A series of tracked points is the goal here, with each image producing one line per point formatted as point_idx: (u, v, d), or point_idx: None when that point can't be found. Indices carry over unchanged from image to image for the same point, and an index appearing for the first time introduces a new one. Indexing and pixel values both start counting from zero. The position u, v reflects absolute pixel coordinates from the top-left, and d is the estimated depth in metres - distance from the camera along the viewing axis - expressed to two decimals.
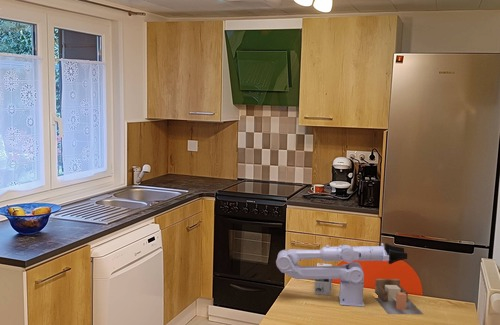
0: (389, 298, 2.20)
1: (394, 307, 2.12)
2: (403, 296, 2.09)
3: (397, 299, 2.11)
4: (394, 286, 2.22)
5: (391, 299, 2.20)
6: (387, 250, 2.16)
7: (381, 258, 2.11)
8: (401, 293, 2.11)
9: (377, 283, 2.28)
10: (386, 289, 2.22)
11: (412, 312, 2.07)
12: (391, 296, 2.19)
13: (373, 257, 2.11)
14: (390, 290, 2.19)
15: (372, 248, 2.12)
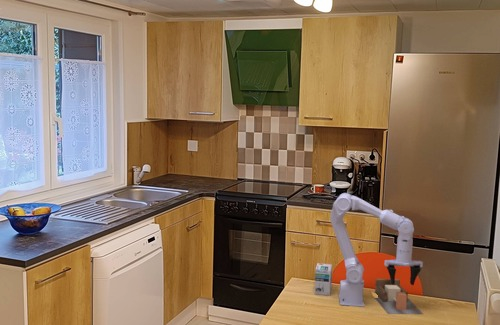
0: (389, 298, 2.20)
1: (394, 307, 2.12)
2: (403, 296, 2.09)
3: (397, 299, 2.11)
4: (394, 286, 2.22)
5: (391, 299, 2.20)
6: (412, 268, 2.10)
7: (396, 259, 2.11)
8: (401, 293, 2.11)
9: (377, 283, 2.28)
10: (386, 289, 2.22)
11: (412, 312, 2.07)
12: (391, 296, 2.19)
13: None
14: (390, 290, 2.19)
15: (402, 253, 2.07)
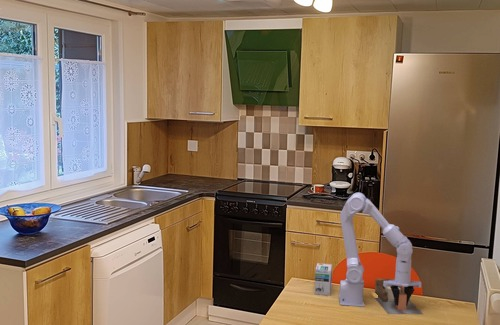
0: (389, 298, 2.20)
1: (394, 307, 2.12)
2: (403, 296, 2.09)
3: None
4: None
5: (391, 299, 2.20)
6: (406, 288, 2.10)
7: (395, 279, 2.11)
8: (401, 293, 2.11)
9: (377, 283, 2.28)
10: (386, 289, 2.22)
11: (412, 312, 2.07)
12: (391, 296, 2.19)
13: (395, 272, 2.11)
14: (390, 290, 2.19)
15: (401, 274, 2.08)
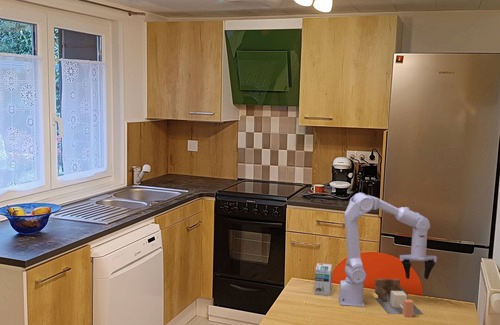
0: (395, 305, 2.12)
1: None
2: (410, 303, 2.02)
3: (404, 306, 2.03)
4: (400, 292, 2.15)
5: (397, 306, 2.12)
6: (427, 262, 2.17)
7: (411, 254, 2.18)
8: (408, 300, 2.03)
9: (377, 283, 2.28)
10: (392, 295, 2.14)
11: None
12: (397, 303, 2.12)
13: (411, 246, 2.17)
14: (397, 297, 2.12)
15: (417, 248, 2.14)
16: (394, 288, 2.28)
